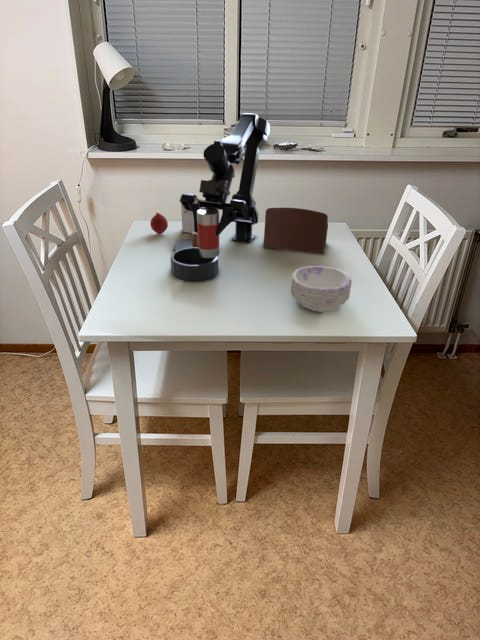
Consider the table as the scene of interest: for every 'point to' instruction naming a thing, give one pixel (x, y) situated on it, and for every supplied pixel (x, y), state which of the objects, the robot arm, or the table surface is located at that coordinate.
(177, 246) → the lid
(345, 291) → the paper bowls
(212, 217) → the cylinder
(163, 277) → the table surface
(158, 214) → the onion
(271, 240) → the letter holder
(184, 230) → the small box
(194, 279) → the pot
